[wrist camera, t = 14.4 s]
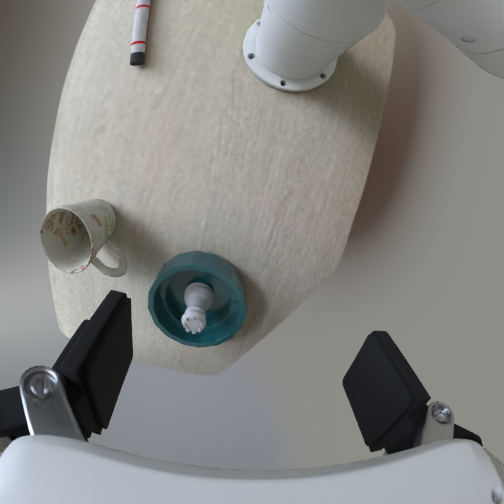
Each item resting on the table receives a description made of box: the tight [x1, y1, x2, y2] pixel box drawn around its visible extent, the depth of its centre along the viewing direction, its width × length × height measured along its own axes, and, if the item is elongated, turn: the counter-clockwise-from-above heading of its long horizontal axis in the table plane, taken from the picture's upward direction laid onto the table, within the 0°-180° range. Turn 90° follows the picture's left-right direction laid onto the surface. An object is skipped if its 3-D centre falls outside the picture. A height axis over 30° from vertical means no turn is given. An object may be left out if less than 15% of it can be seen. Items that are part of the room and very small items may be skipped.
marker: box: [130, 0, 151, 66], centre depth 24 cm, size 15×2×2 cm, turn 0°
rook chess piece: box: [181, 283, 214, 334], centre depth 36 cm, size 4×4×8 cm
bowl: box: [148, 251, 247, 347], centre depth 38 cm, size 14×14×5 cm
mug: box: [40, 199, 127, 277], centre depth 31 cm, size 8×13×10 cm, turn 43°
